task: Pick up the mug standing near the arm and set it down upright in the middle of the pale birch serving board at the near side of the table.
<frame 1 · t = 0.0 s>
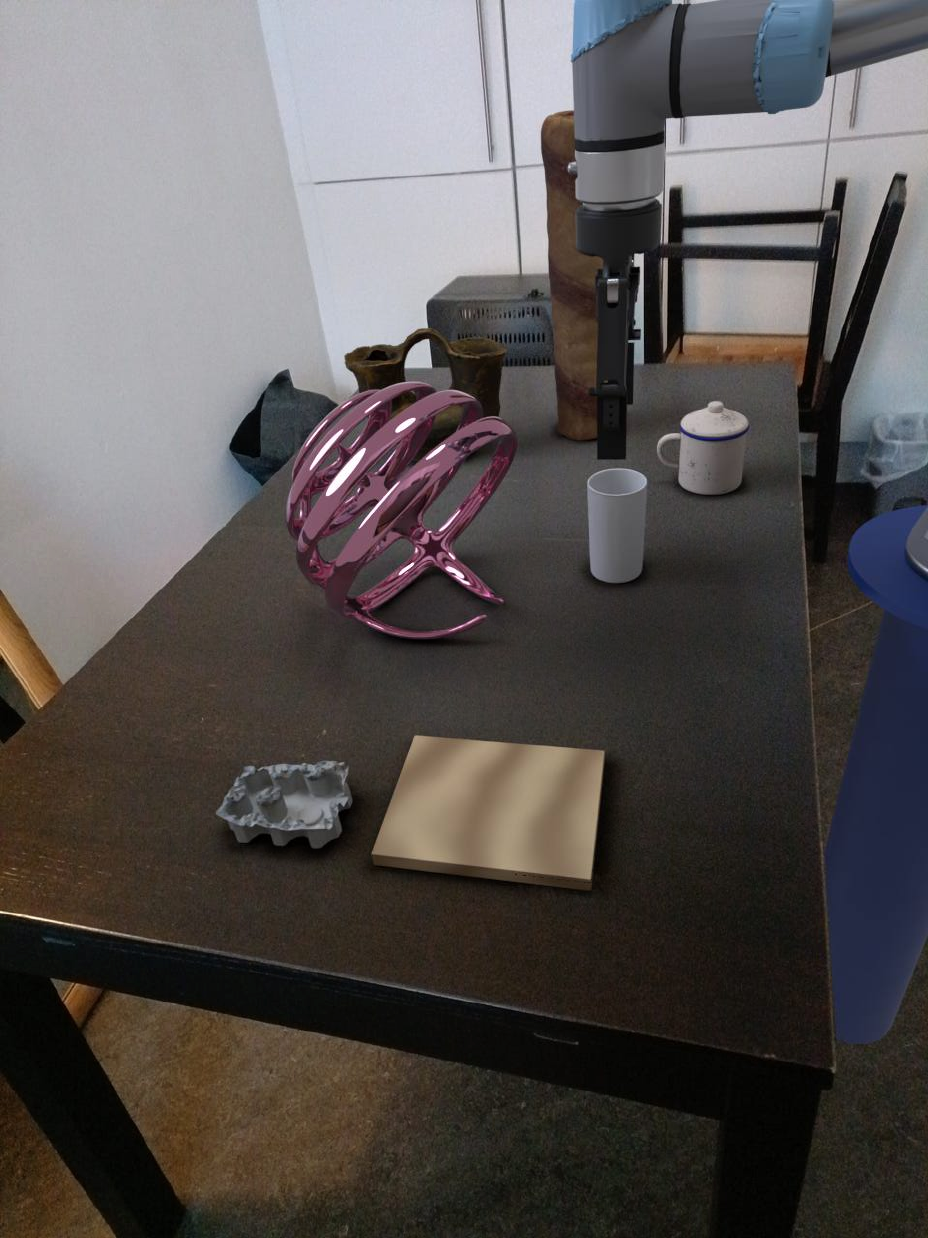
hand: (616, 429, 84), 21 cm above the table, tool pointing down, fingers open, 13 cm apart
board: (494, 811, 72), on the table
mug: (617, 564, 102), on the table
spiral basket: (420, 602, 100), on the table
teacup with lid: (698, 483, 117), on the table
wafer roll: (584, 429, 136), on the table
pottery vessel: (437, 453, 134), on the table
egg carton: (292, 818, 74), on the table
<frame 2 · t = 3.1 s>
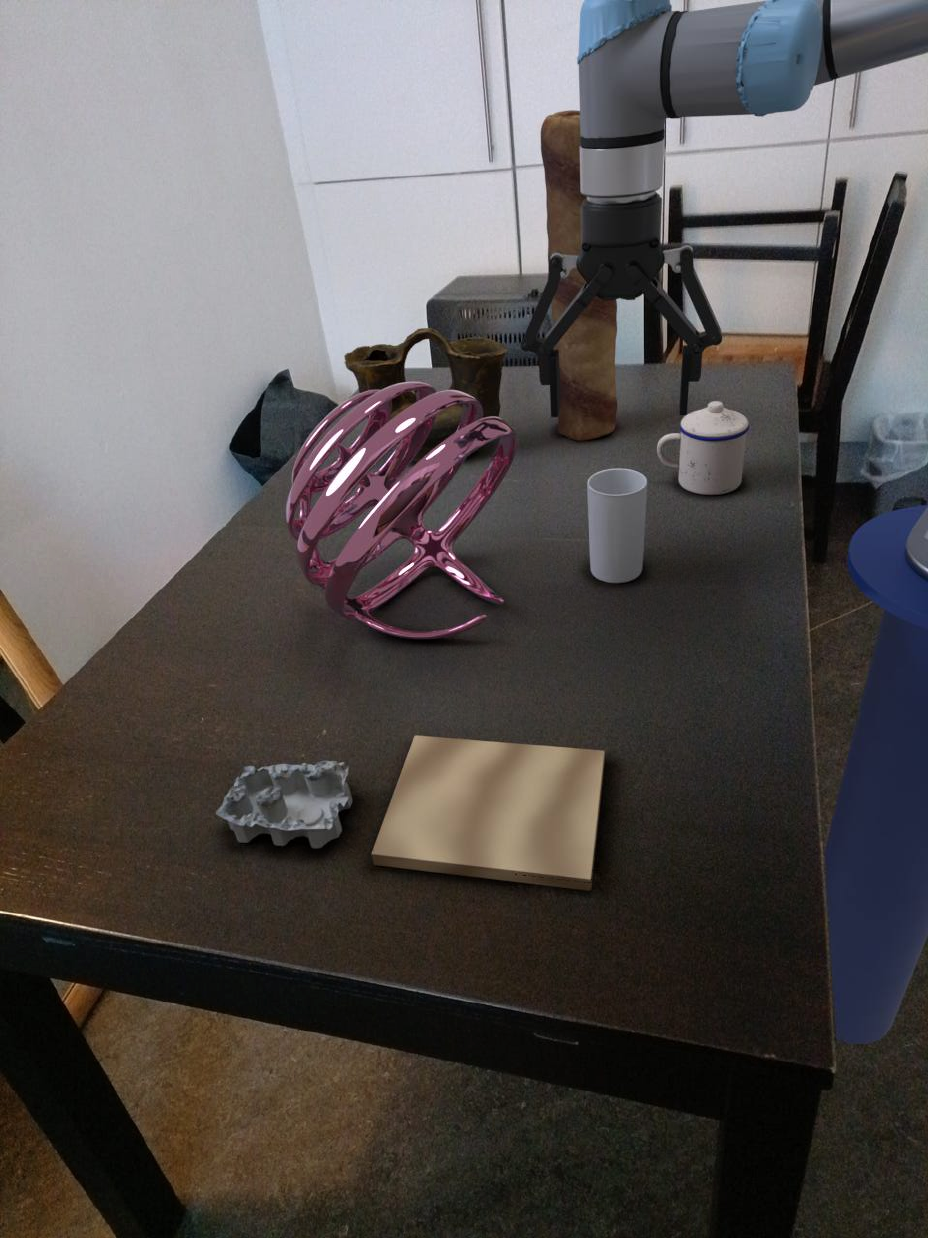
hand: (618, 411, 89), 20 cm above the table, tool pointing down, fingers open, 13 cm apart
nothing on the table moved.
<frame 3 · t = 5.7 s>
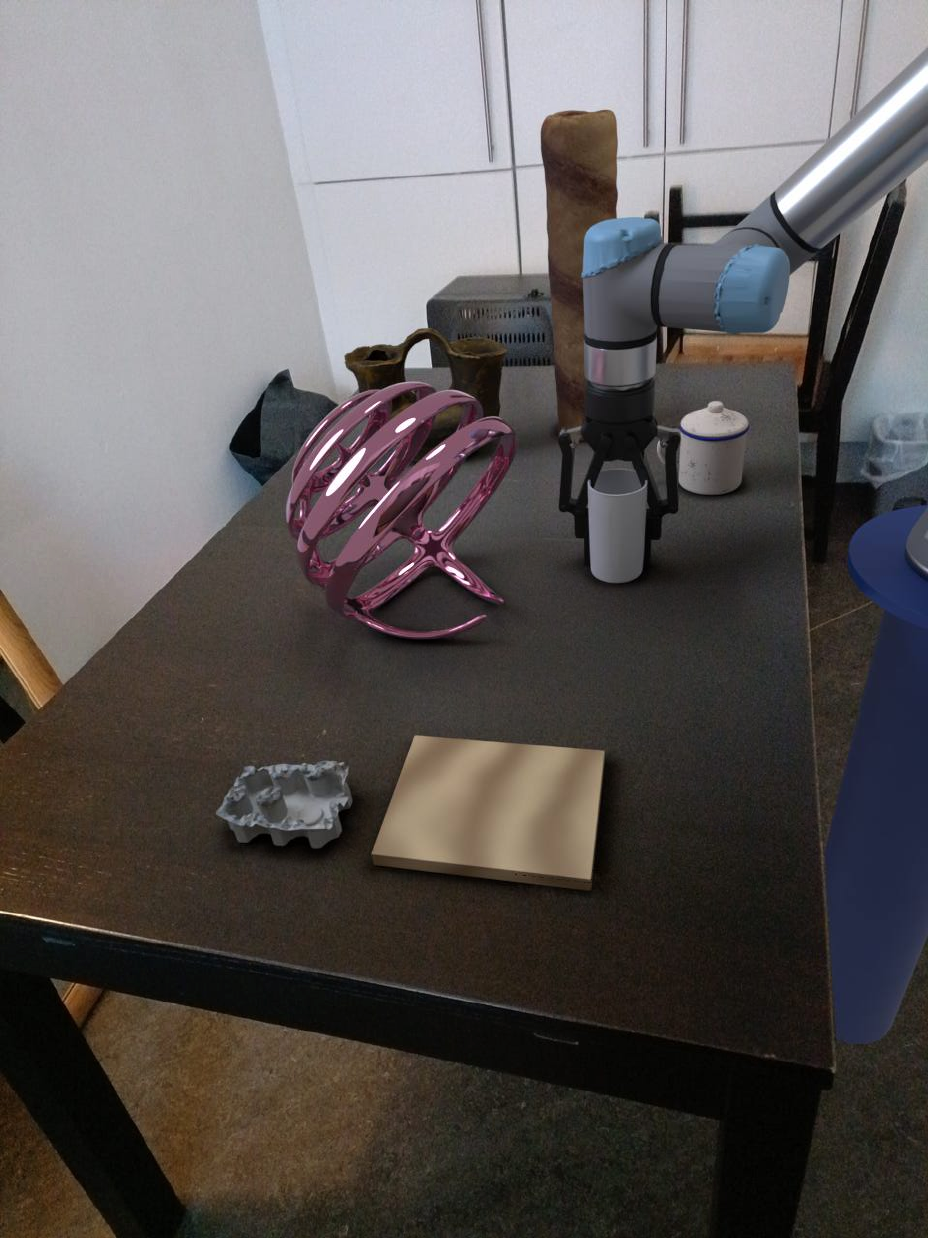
hand: (617, 559, 102), 0 cm above the table, tool pointing down, fingers closed on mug, 6 cm apart
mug: (618, 564, 102), on the table, touching gripper
everything else where it was.
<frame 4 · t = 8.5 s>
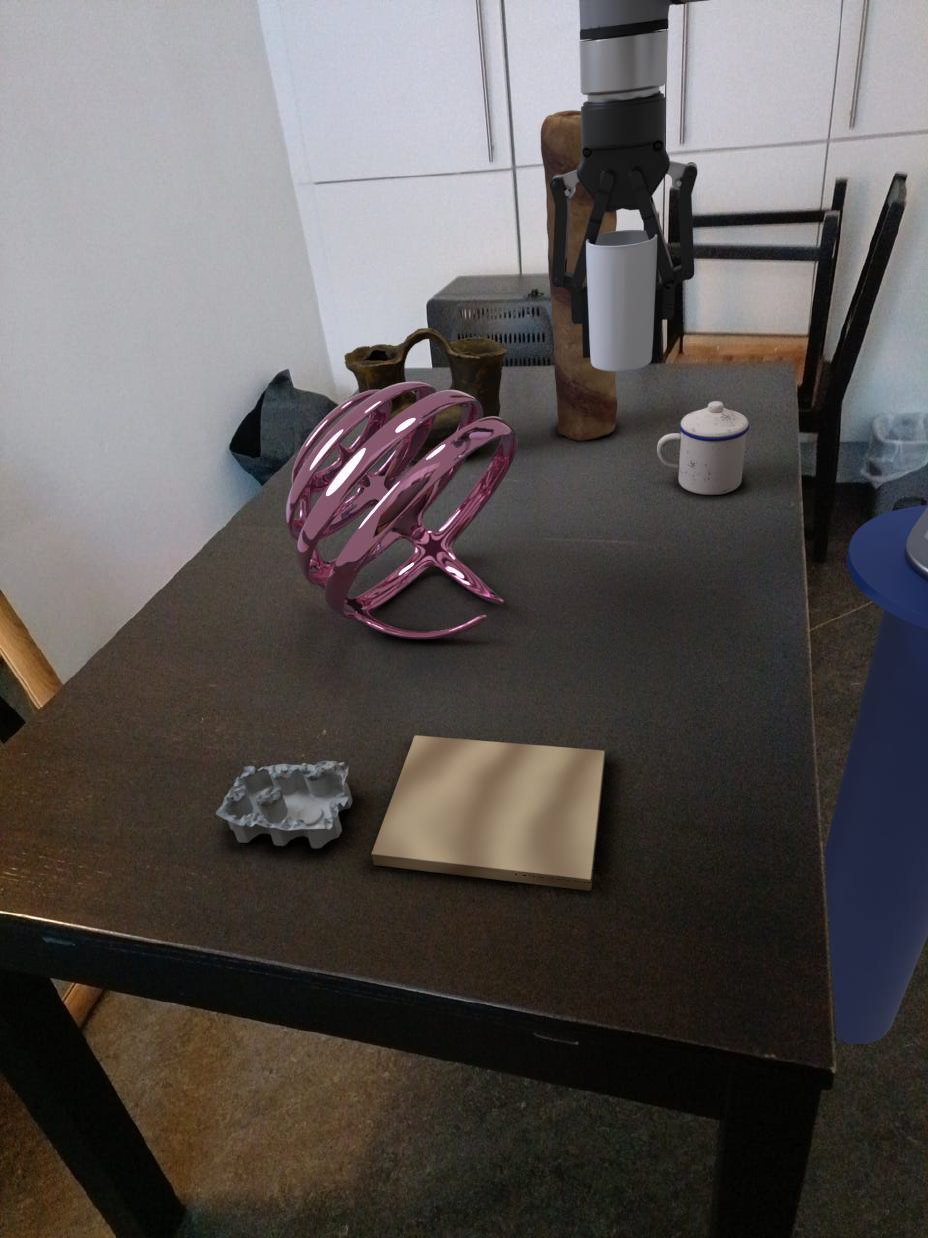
hand: (622, 351, 86), 26 cm above the table, tool pointing down, fingers closed on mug, 6 cm apart
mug: (622, 358, 87), point 26 cm above the table, touching gripper
everything else where it was.
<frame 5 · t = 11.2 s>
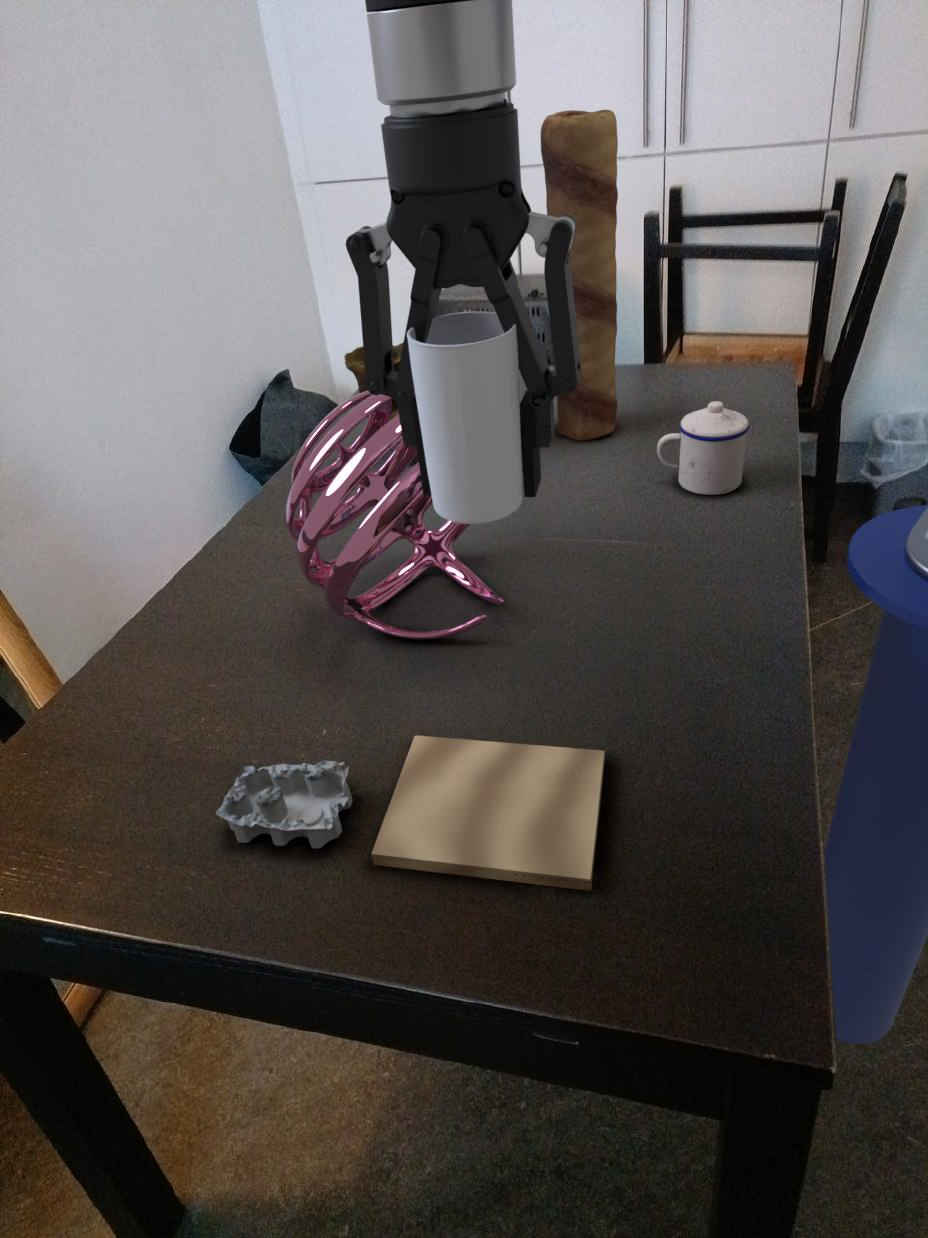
hand: (482, 486, 58), 29 cm above the table, tool pointing down, fingers closed on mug, 6 cm apart
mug: (484, 494, 58), point 29 cm above the table, touching gripper
everything else where it was.
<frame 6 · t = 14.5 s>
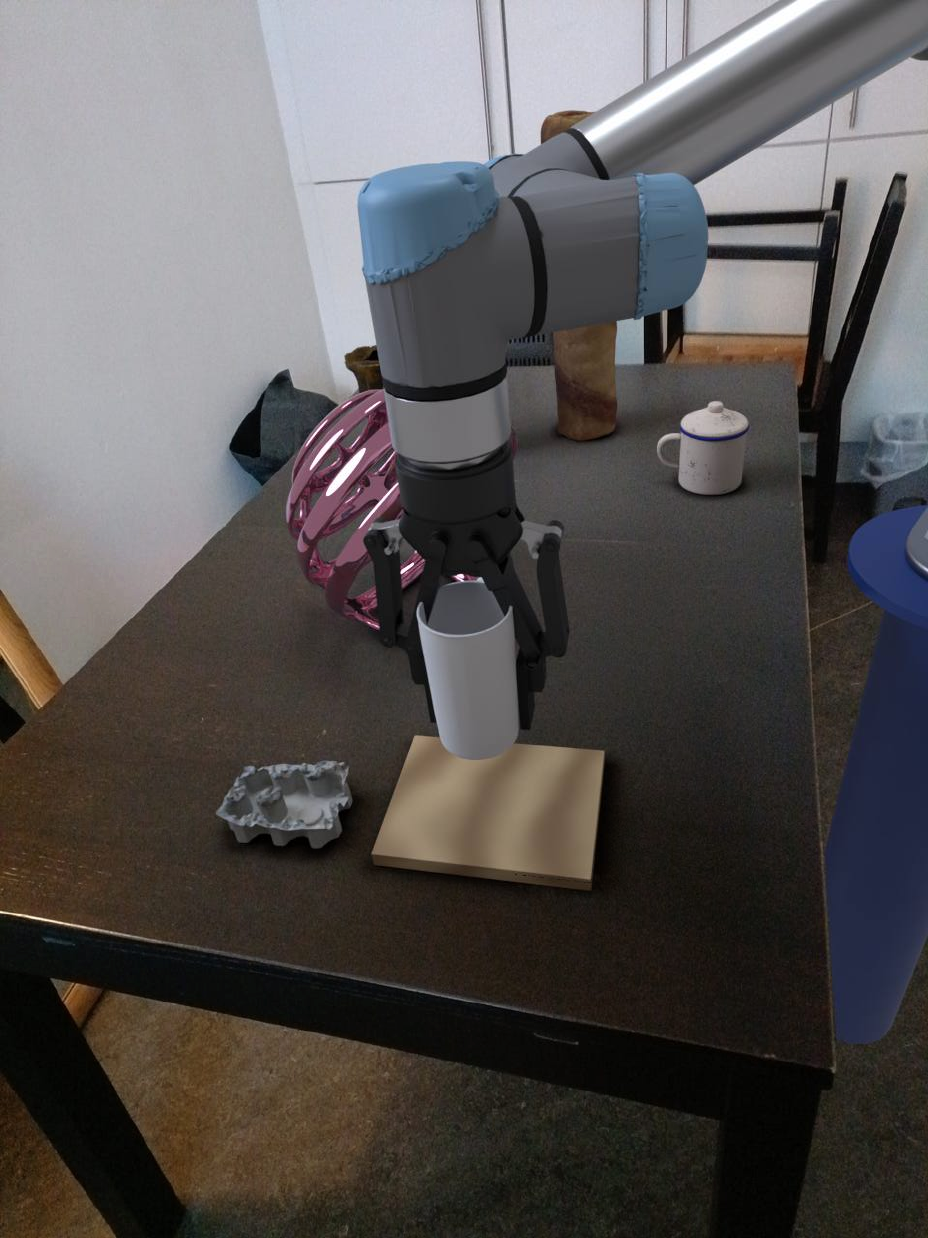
hand: (482, 714, 65), 12 cm above the table, tool pointing down, fingers closed on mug, 6 cm apart
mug: (484, 720, 66), point 11 cm above the table, touching gripper
everything else where it was.
when the fingers open (2 cm above the table, at t = 16.9 s): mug stays where it is, resting on board.
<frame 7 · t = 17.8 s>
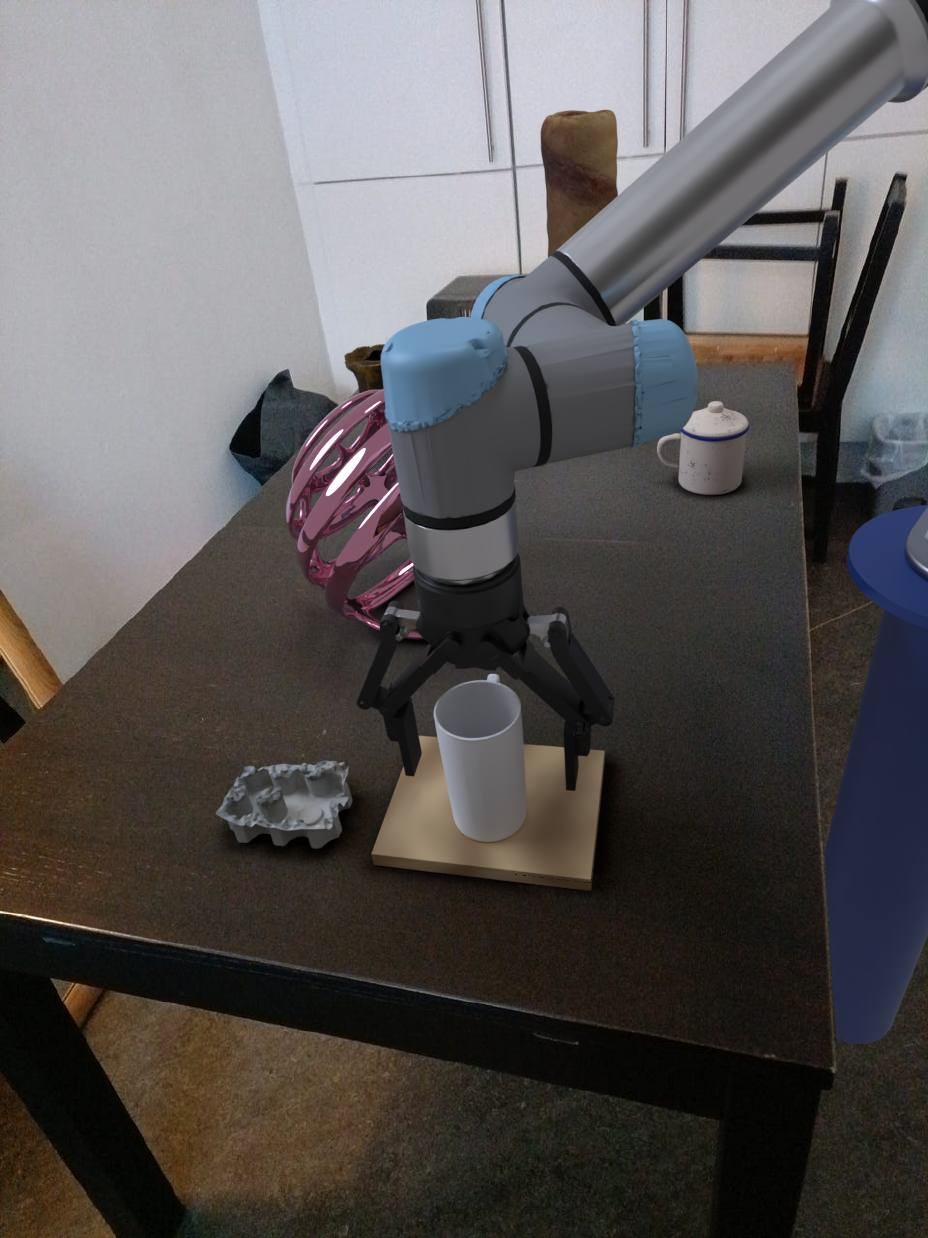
hand: (491, 771, 69), 5 cm above the table, tool pointing down, fingers open, 13 cm apart
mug: (494, 800, 71), point 1 cm above the table, touching board
everything else where it was.
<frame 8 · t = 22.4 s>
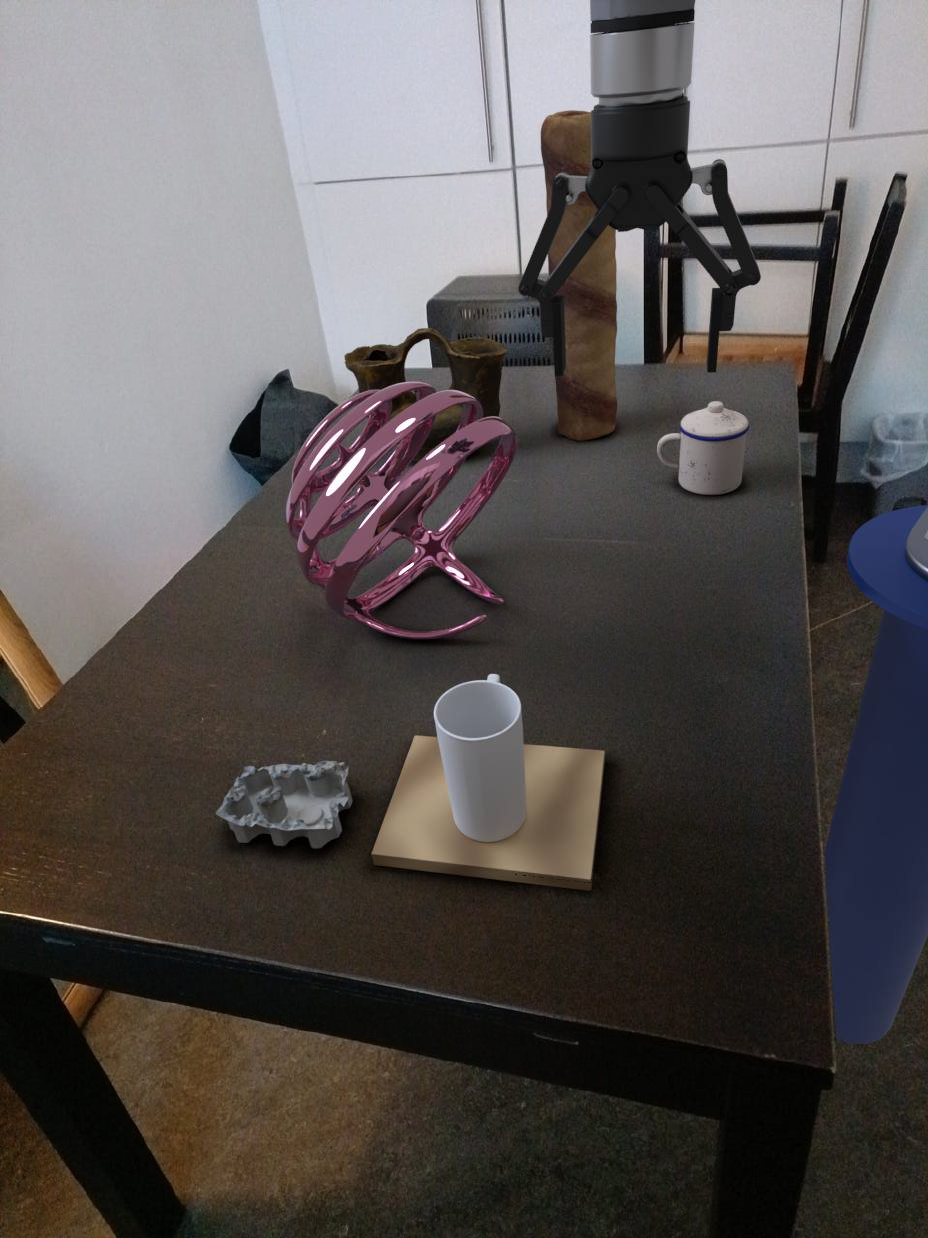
hand: (634, 369, 75), 29 cm above the table, tool pointing down, fingers open, 13 cm apart
nothing on the table moved.
at the end: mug inside the target area on the board (0.1 cm from its centre), point 1.3 cm above the board's base; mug tilted 0°; the gripper is holding nothing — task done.
